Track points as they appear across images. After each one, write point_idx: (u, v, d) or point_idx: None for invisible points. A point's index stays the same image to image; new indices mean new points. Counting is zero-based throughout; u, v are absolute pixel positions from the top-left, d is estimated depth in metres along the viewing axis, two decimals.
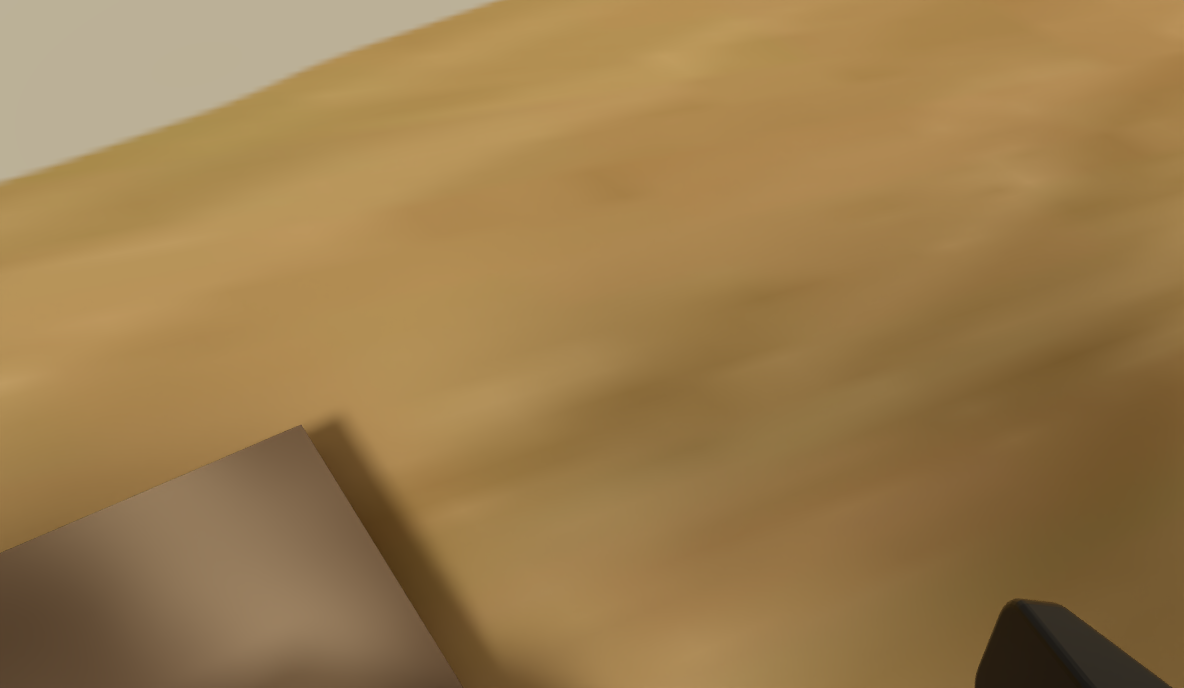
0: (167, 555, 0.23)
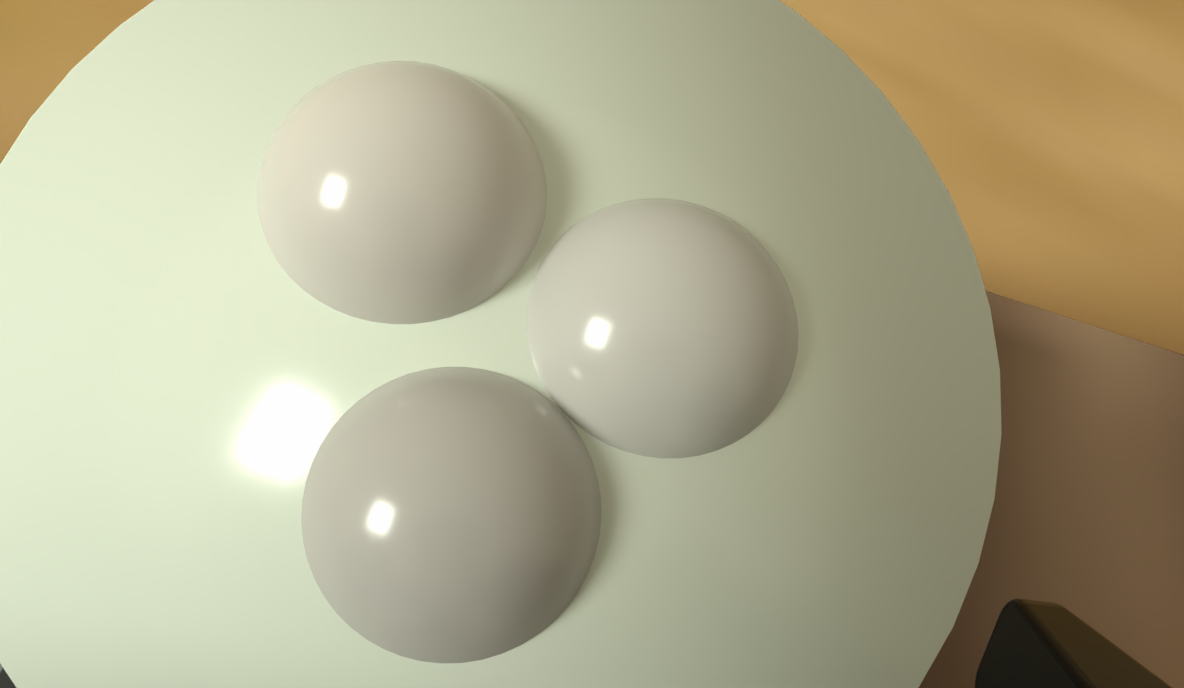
0: None
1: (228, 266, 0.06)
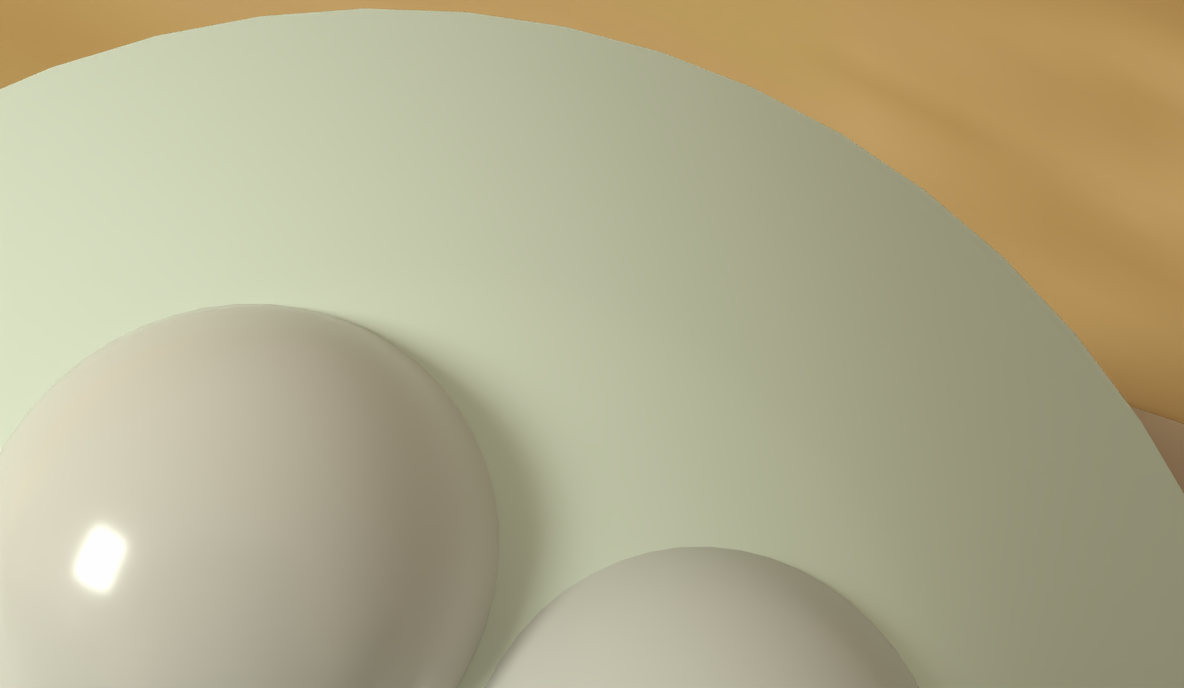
0: None
1: None
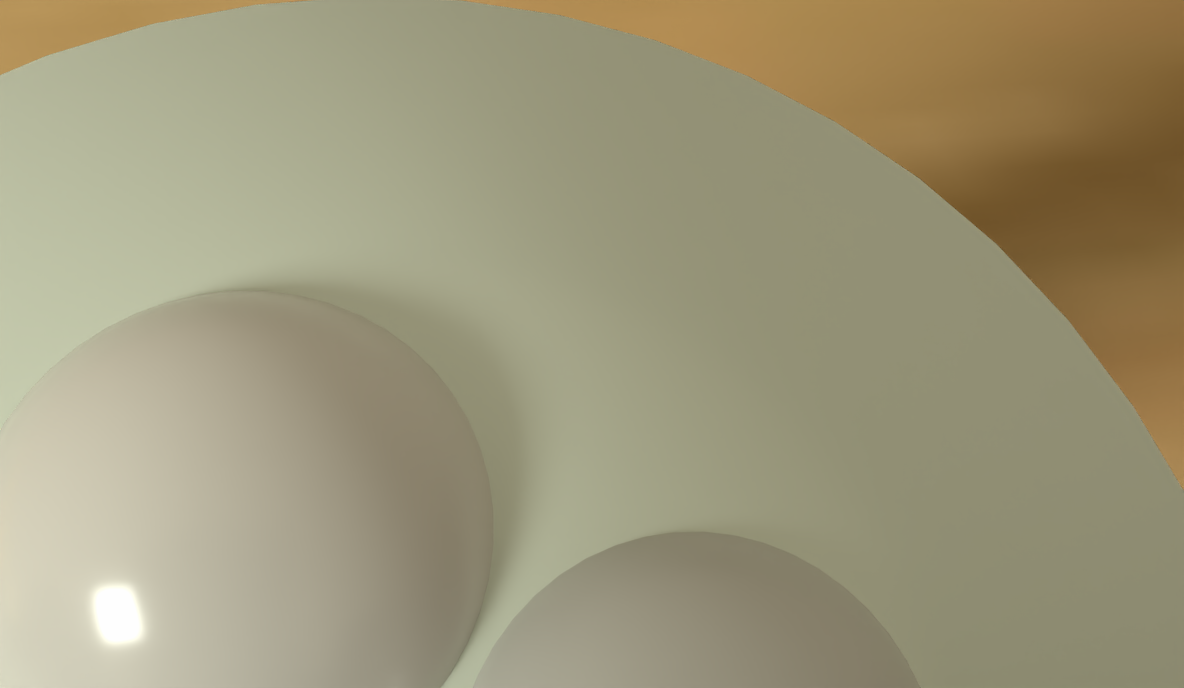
0: None
1: None
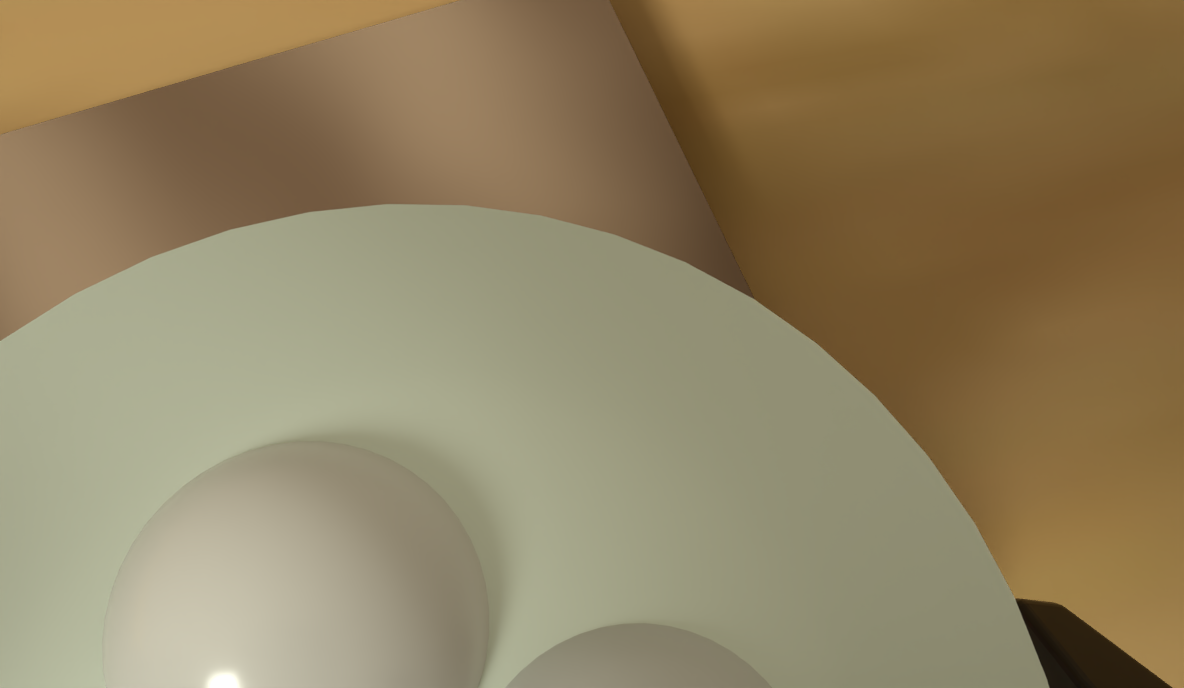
0: (423, 102, 0.19)
1: None
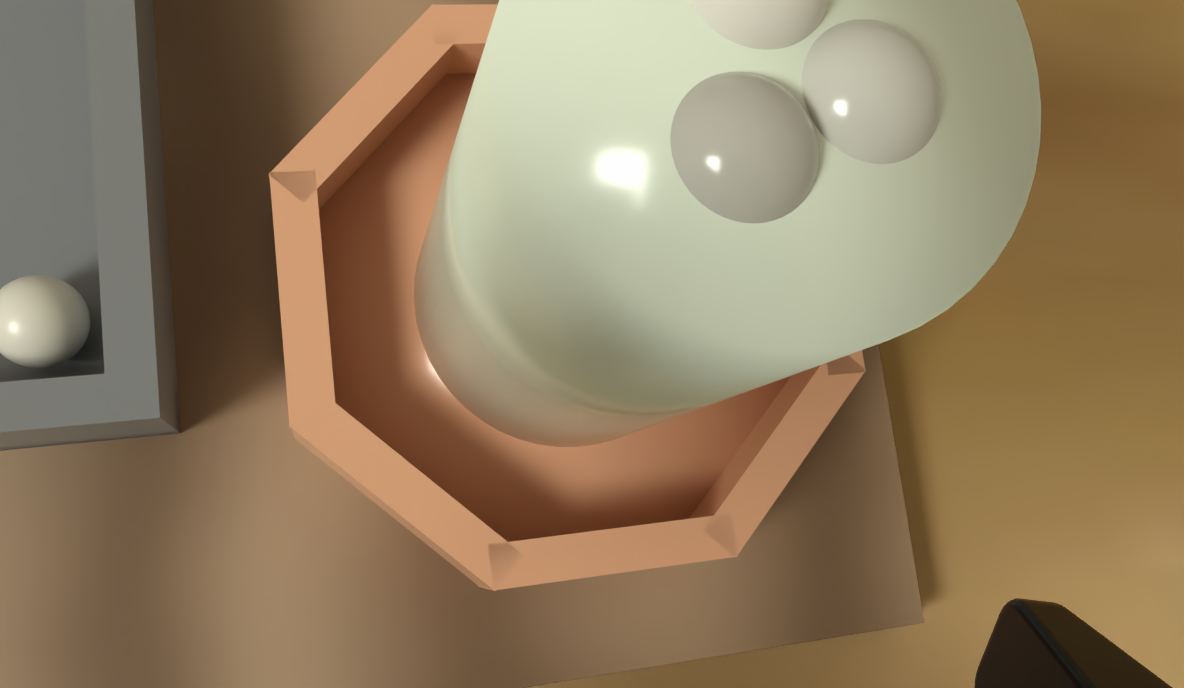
0: None
1: None
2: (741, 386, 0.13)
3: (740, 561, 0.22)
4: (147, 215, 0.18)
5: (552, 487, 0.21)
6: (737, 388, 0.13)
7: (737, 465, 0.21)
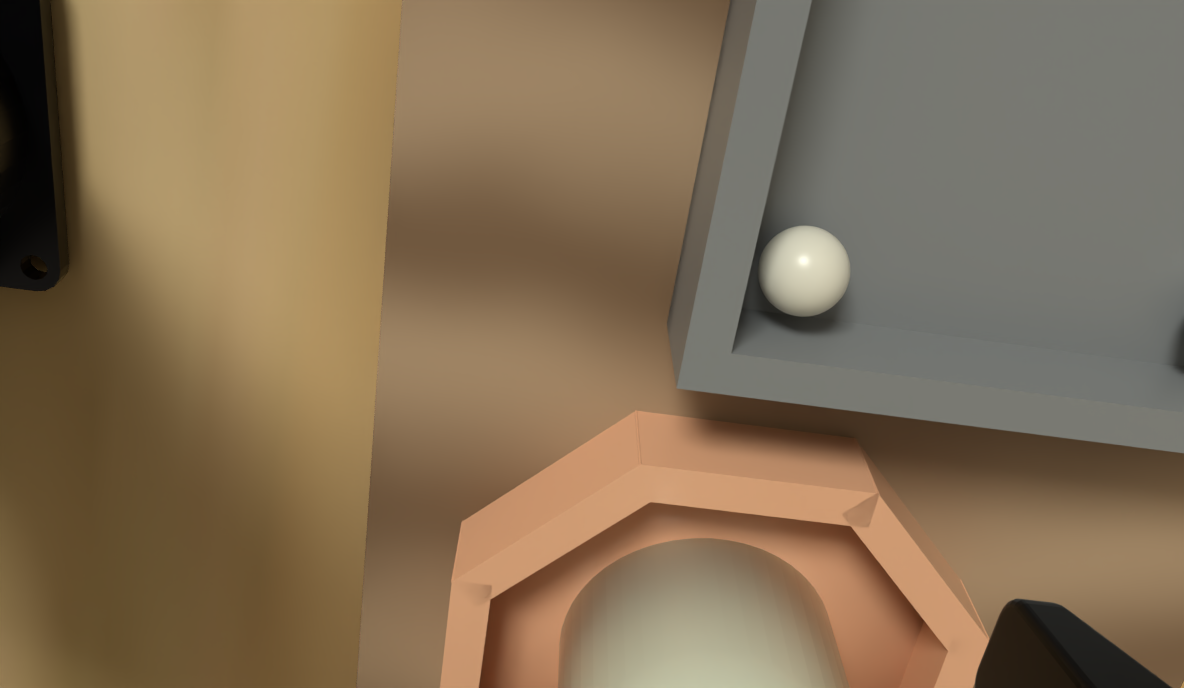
0: None
1: None
2: None
3: None
4: (869, 410, 0.19)
5: (531, 605, 0.23)
6: None
7: None
